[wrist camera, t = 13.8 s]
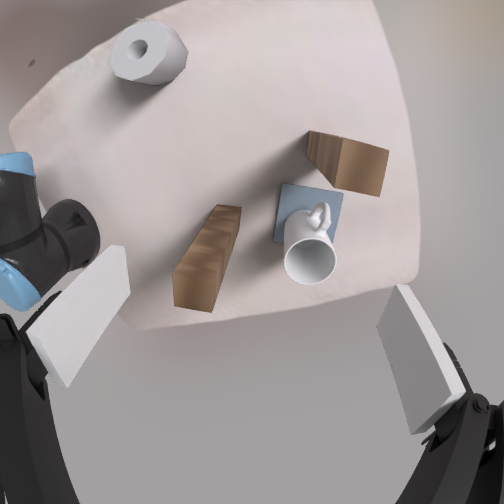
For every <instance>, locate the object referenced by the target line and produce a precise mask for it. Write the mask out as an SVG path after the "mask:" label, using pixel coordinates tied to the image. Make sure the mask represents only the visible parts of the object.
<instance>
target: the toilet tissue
mask: <svg viewBox="0 0 504 504" xmlns="http://www.w3.org/2000/svg"><path fill="white" fill-rule="evenodd" d="M139 20H144V21H143V22H140V23H138V24H135V25H133V26H130V27H128V28H126V29H125V30H124V31H123V32H122V33H121V35H120V36H119V37H118V38H117V39H116V41H115V42H114V43H113V44H112V49H111V54H110V59H109V63H110V65H111V67H112V69H113V71H114V73H115V75H116V76H118V77H121V78H124V79H127V80H131V81H135V82H140V83H145V84H150V85H154V86H158V85H161V84H164V83H168V82H171V81H173V80H174V79H175V78H176V77H177V76H178V75H179V74H180V73H181V72H182V71H183V69H184V68H185V66H186V61H187V55H188V50H187V49H186V47H185V45H184V44H183V42H182V40H181V39H180V37H179V35H178V34H177V32H176V30H175V29H174V28H173V27H171V26H170V25H168V24H166V23H164V22H160V21H153V20H145V19H139ZM147 21H149V22H147ZM152 22H153V23H152ZM156 23H157V24H156Z"/></svg>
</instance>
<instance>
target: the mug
mask: <svg viewBox="0 0 504 504" xmlns="http://www.w3.org/2000/svg"><path fill="white" fill-rule="evenodd" d="M322 211H323V215H322V219H321V220H320V218H319V216H320V214H321V212H322ZM330 224H331V221H330V207H329V205H328V204H327V203H325V202H319V203H316V204H315V205H314V207H313V209H312V211H309V210H298V211H296V212H294V213H292V214H291V215H290V216H289V217H288V218H287V220H286V222H285V228H284V268H285V271H286V273H287V275H288V276H289V277H290V278H291V279H292V280H293V281H295V282H296V283H299V284H302V285H315V284H318V283H321V282H323V281H325V280H326V279H327V278H329V277H330V276H331V274H332V273H333V271H334V270H335V267H336V263H337V257H336V253H335V251H334V248H333V246H332V243H331V241H330V239H329V237H328V235H327V232H326V230H327V229H328V228H329V226H330Z"/></svg>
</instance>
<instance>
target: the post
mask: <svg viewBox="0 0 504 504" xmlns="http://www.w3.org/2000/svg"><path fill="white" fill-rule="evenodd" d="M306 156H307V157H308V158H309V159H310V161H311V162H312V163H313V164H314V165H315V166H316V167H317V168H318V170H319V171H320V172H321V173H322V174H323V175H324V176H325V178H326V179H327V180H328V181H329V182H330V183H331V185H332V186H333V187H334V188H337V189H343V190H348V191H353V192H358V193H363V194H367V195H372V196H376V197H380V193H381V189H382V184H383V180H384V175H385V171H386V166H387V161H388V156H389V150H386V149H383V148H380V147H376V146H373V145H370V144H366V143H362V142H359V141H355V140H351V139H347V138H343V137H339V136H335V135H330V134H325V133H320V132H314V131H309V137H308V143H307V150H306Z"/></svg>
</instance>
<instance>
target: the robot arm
mask: <svg viewBox="0 0 504 504" xmlns="http://www.w3.org/2000/svg"><path fill="white" fill-rule="evenodd" d="M35 178H36V175H35V174H34V168H33V160H32V157H31V155H30V154H29V153H27V152H14V153H7V154H1V155H0V298H1V299H2V300H3V301H4V302H5V303H6V304H7V305H9V306H10V307H12V308H13V309H15V310H18V311H22V312H23V311H27V310H29V309H30V308H31V307H32V306H34V305H35V304H36V303H37V302H39V301H40V300H41V298H42V297H43V296H44V295H45V294H46V293H47V292H48V291H49V290H50V289H51V288H52V287H53V286H54V285H55V284H56V283H57V282H58V281H59V280H60V279H61V278H62V277H63V276H64V275H65V274H66V273H67V272H70V271H73V270H76V269H79V268H82V267H85V266H86V265H88V264H89V263H90V262H91V261H92V260H94V259H95V257H96V256H97V254H98V252H99V248H100V235H99V231H98V227H97V225H96V222H95V220H94V218H93V216H92V215H91V213H90V212H89V211H88V210H87V209H86V208H85V207H84V206H83V205H82V204H81V203H79V202H77V201H75V200H71V199H65V200H62V201H60V202H58V203H56V204H55V205H53V206H52V207H51V208H50V209H49V211H48V212H47V213H46V215H45V216H44V217H43V219H42V218H41V213H40V207H39V201H38V195H37V188H36V181H35ZM130 294H131V291H130V284H129V278H128V270H127V263H126V255H125V246H118V245H111V246H109V247H108V248H107V249H106V250H105V251H104V252H103V253H102V254H101V255H100V256H98V257H97V258H96V259H95V260H94V261H93V262H92V263H91V264H90V265H89V266H88V267H87V268H86V269H85V270H84V271H83V272H82V273H81V274H80V275H78V277H76V278H75V280H73V281H72V282H71V283H70V285H68V286H67V287H66V288H65V290H64V291H59V292H57V293H55V294H53V295H52V296H50V297H49V298H48V299H47V300H46V301H45V302H44V304H43V305H42V306H41V307H40V308H39V309H38V311H36V312H35V313H34V314H33V315H32V316H31V318H30V319H29V320H28V321H27V322H26V323H25V324H24V325H23V326H22V328H21V329H20V330H19V331H18V329H17V327H16V325H15V323H14V321H13V319H12V317H11V316H10V315H8V314H6V313H5V314H0V504H5V495H6V498H7V502H8V504H80V503H79V501H78V498H77V496H76V494H75V491H74V488H73V486H72V483H71V480H70V478H69V475H68V472H67V469H66V466H65V463H64V460H63V456H62V453H61V449H60V446H59V442H58V438H57V434H56V430H55V425H54V421H53V416H52V411H51V406H50V399H49V393H48V385H47V382H46V379H45V376H46V375H47V373H49V375H50V377H51V378H52V380H53V381H54V382H55V383H57V384H59V385H61V386H63V387H65V388H68V387H69V385H70V384H71V382H72V380H73V379H74V377H75V375H76V374H77V372H78V370H79V369H80V367H81V365H82V364H83V362H84V361H85V359H86V358H87V356H88V355H89V353H90V351H91V350H92V348H93V347H94V345H95V344H96V342H97V341H98V339H99V338H100V336H101V335H102V333H103V332H104V330H105V329H106V327H107V326H108V325H109V323H110V322H111V320H112V319H113V317H114V316H115V314H116V313H117V312H118V310H119V309H120V307H121V306H122V305H123V303H124V302H125V300H126V299H127V298H128V296H129V295H130ZM376 327H377V330H378V332H379V335H380V338H381V341H382V343H383V346H384V349H385V351H386V354H387V357H388V360H389V363H390V366H391V369H392V372H393V375H394V378H395V381H396V384H397V387H398V391H399V394H400V397H401V401H402V404H403V408H404V411H405V415H406V418H407V422H408V425H409V430H410V433H411V435H413V434H418V433H423V432H426V431H427V430H428V429H429V428H430V427H432V426H433V425H434V426H435V429H436V430H435V431H434V432H433V433H432V434H431V435H429V436H428V437H427V438H426V439H425V440H424V441H423V442H422V443H421V444H422V445H423V444H424V443H426V442H427V441H428V440H429V442H428V444H427V445H426V448H425V450H424V453H423V455H422V457H421V459H420V461H419V463H418V465H417V467H416V469H415V471H414V473H413V474H412V476H411V478H410V480H409V482H408V483H407V485H406V487H405V489H404V490H403V492H402V494H401V495H400V497H399V499H398V500H397V502H396V503H395V504H504V401H503V402H502V403H501V404H500V405H499V406H496V405H490V404H489V402H488V400H487V399H486V398H485V397H484V396H483V395H481V394H477V393H476V394H474V393H473V391H472V389H471V387H470V385H469V383H468V381H467V378H466V376H465V374H464V372H463V370H462V368H460V364H459V362H458V361H457V359H456V357H455V355H454V353H453V351H452V350H451V349H450V348H449V347H448V345H446V343H442V342H441V340H440V338H439V336H438V334H437V332H436V331H435V329H434V327H433V325H432V324H431V322H430V320H429V319H428V317H427V315H426V313H425V312H424V310H423V308H422V307H421V305H420V304H419V302H418V301H417V299H416V297H415V296H414V294H413V293H412V291H411V289H410V288H409V286H408V285H401V284H395V286H394V289H393V291H392V294H391V296H390V298H389V301H388V303H387V305H386V307H385V309H384V312H383V314H382V316H381V318H380V320H379V323H378V324H377V326H376ZM494 441H496V445H495V447H494V448H493V449H492V450H489V445H490V444H492V443H493V442H494ZM4 491H5V494H4Z"/></svg>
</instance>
